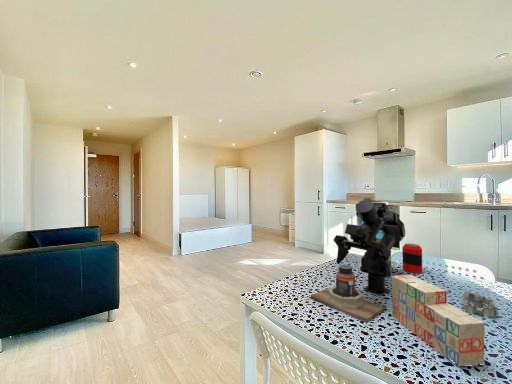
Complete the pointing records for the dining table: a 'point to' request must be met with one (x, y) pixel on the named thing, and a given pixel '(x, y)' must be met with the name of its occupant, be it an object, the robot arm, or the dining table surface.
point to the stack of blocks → (437, 320)
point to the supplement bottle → (345, 282)
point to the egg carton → (478, 304)
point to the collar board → (355, 313)
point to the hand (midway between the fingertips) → (348, 266)
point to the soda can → (412, 258)
